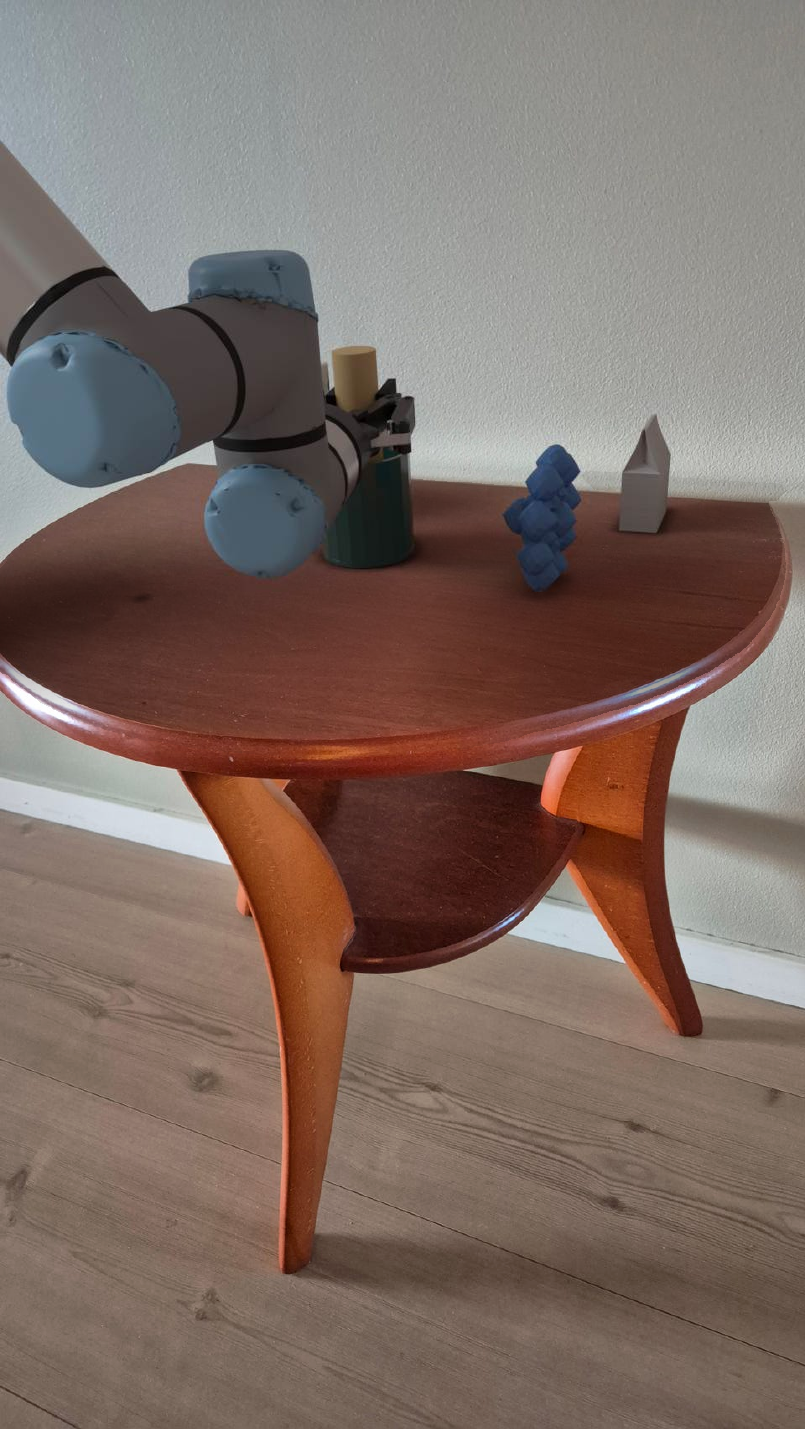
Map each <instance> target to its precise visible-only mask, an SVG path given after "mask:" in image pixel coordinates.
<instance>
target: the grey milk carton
mask: <svg viewBox="0 0 805 1429" xmlns="http://www.w3.org/2000/svg"><path fill="white" fill-rule="evenodd" d="M658 420H659V419H658V415H657V413H655V414H654V413H652V414H651V415H650V417H649V419H647V422H646V423H645V425H644V426H643V428H642V430H641V431H640V436H639V439H638V441H637V443H636V446H635V448H634V450H633V452H632V453H631V456H630V458H629V459H628V461H627V463H626V464H625V466H624V468H623V470H622V472H621V484H620V486H621V487H620V505H619V506H620V508H619V521H618V523H619V524H618V531H622V532H636V533H637V532H638V533H649V534H652V533H653V534H657V532H658V531H659V528H660V525H661V523H662V521H663V519H664V517H665V515H666V513H667V507H668V496H669V495H668V494H669V485H670V484H669V483H670V469H671V459H672V458H671V457H672V454H671V451H670V450H669V447H668V445H667V442H666V440H665V437H664V435H663V433H662V430H661V427H660V424H659V421H658Z"/></svg>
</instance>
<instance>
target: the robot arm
mask: <svg viewBox="0 0 805 1429" xmlns="http://www.w3.org/2000/svg"><path fill="white" fill-rule="evenodd" d="M187 279H188V291H189V292H188V294H187V302H186V303H185V302H184V303H181V304H178V305H174V306H171V307H170V306H169V307H166V308H161V309H158V310H153V311H151V310H150V309H148V307H147V306H146V305H145V304H144V303H143V302H142V300H140V298H139V297H138V296H137V295H136V294H135V292H134V291H133V290H132V289H131V287H129V285H127V283H126V282H124V281H123V280H122V279H121V277H120V276H119V275H118V274H117V272H116V271H115V270H114V269H113V268H112V267H111V266H110V265H109V264H108V262H107V261H106V260H105V259H104V257H102V256H101V254H100V253H99V252H98V251H97V249H96V248H95V247H94V246H93V245H92V244H91V243H90V242H89V241H88V239H87V238H86V237H85V236H84V235H83V234H82V232H81V231H80V230H79V229H78V227H77V226H76V225H75V224H74V223H73V221H71V220H70V218H69V217H68V216H67V215H66V214H65V213H64V211H63V210H62V209H61V208H60V207H59V206H58V204H56V203H55V201H54V200H53V199H52V198H51V197H50V195H49V194H48V193H47V192H46V191H45V189H44V188H43V187H42V186H41V185H40V184H39V183H38V181H37V180H36V179H35V178H34V177H33V176H32V175H31V174H30V172H29V171H28V170H27V169H26V168H25V167H24V165H23V164H22V163H21V162H20V161H19V160H18V159H17V157H15V155H14V153H12V152H11V151H10V149H9V148H8V147H7V146H6V145H5V143H3V141H2V140H1V139H0V355H1V356H2V358H4V359H5V361H6V362H7V363H8V365H9V366H10V367H11V368H10V371H9V374H8V377H7V383H6V403H7V410H8V413H9V417H10V421H11V423H13V424H14V425H16V426H17V428H18V430H19V432H20V434H21V437H22V442H21V443H22V446H23V448H24V449H25V451H26V452H27V454H28V455H29V456H30V458H31V459H32V460H33V461H34V462H35V463H36V464H37V465H38V466H39V467H40V469H42V470H43V471H44V472H46V473H47V474H49V475H51V477H53V478H55V479H56V480H59V481H60V482H62V483H64V484H66V485H67V484H68V485H70V486H74V487H77V488H85V489H96V488H102V487H105V486H109V485H112V484H115V483H119V482H123V481H126V480H130V479H132V478H135V477H139V476H143V475H146V474H151V473H153V472H155V471H157V470H158V469H159V468H160V467H162V466H165V465H166V464H167V463H168V462H170V461H171V460H172V461H173V459H176V458H178V457H180V456H182V455H184V454H186V453H188V452H190V451H192V450H194V449H196V448H198V447H201V446H202V445H204V444H207V443H210V442H212V444H213V452H214V456H215V463H216V469H217V477H218V480H217V481H215V486H214V487H213V488H212V490H211V492H210V493H209V494H210V495H209V496H208V499H207V501H206V505H205V507H204V517H203V518H204V521H203V522H204V528H205V533H206V537H207V539H208V541H209V543H210V545H211V547H212V548H213V550H214V552H216V555H217V556H218V557H219V558H220V559H221V560H222V561H223V562H224V563H225V564H227V565H228V566H229V567H231V568H232V569H233V570H235V571H236V572H239V573H241V574H243V575H245V576H249V577H252V578H257V579H263V580H269V579H277V578H281V577H284V576H287V575H289V574H291V573H294V572H295V571H297V570H298V569H299V568H300V567H302V566H303V565H304V564H305V563H306V561H308V560H309V558H310V557H311V556H312V555H314V554H315V553H317V551H319V549H320V548H321V546H322V544H323V541H324V539H325V537H326V534H327V532H328V531H329V529H330V527H331V526H332V524H333V522H334V521H335V519H336V517H337V515H338V514H339V512H340V510H341V509H342V507H343V506H344V504H345V502H346V501H347V499H348V498H349V496H350V494H351V493H352V492H353V490H354V489H355V487H356V486H357V484H358V483H359V481H360V480H361V478H362V476H363V475H364V473H365V470H366V468H367V465H368V461H369V458H371V457H373V456H376V455H377V454H378V453H379V452H380V448H381V447H387V446H388V448H389V451H396V452H397V453H398V454H403V455H405V454H408V453H410V454H411V453H412V435H413V432H414V430H415V428H416V405H415V397H414V396H412V395H404V396H402V392H397V391H398V390H397V378H396V377H393V378H391V377H389V378H387V379H386V381H384V383H383V384H382V385H381V387H380V388H378V389H379V391H378V392H377V393H376V401H375V402H374V403H372V404H371V405H369V406H367V407H366V408H364V409H363V410H360V409H353V410H351V411H349V412H348V413H347V412H346V411H344V410H342V409H341V408H339V407H336V398H335V387H334V386H333V387H332V388H331V389H330V391H329V392H328V393H327V394H326V395H324V390H323V383H322V371H321V361H322V360H321V359H322V358H321V346H320V337H319V325H318V323H319V313H317V311H316V305H315V299H314V292H313V286H312V280H311V272H310V268H309V265H308V263H307V261H306V260H305V258H304V257H303V256H301V255H300V254H299V253H297V252H295V251H292V250H287V249H286V250H285V249H256V250H255V249H254V250H240V251H229V252H222V253H214V254H208V255H204V256H201V257H198V258H197V259H194V261H192V263H191V264H190V266H189V268H188V271H187Z"/></svg>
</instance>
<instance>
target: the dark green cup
mask: <svg viewBox="0 0 805 1429" xmlns="http://www.w3.org/2000/svg"><path fill="white" fill-rule="evenodd" d="M410 454H411V453H408V454H405V455H403V454H398V453H397V452H396V451H389V448H388V446H387V447H383V460H381V461H376V462H368V465H367V468H366V470H365V473H364V475H363V476H362V478H361V480H360V481H359V483H358V484H357V486H356V487H355V489H354V490H353V492H352V493H351V494H350V496H349V498H348V499H347V501H346V502H345V504H344V506H343V507H342V509H341V510H340V512H339V514H338V515H337V517H336V519H335V521H334V522H333V524H332V526H331V527H330V529H329V531H328V532H327V534H326V537H325V539H324V541H323V544H321V546H322V552H323V558H324V559H325V560H326V561H327V562H329V563H331V564H333V565H336V566H339V567H343V568H350V569H373V568H381V567H386V566H391V565H394V564H397V563H400V562H402V561H404V560H406V559H407V558H409V557H411V555H412V554H413V553H414V551H415V530H414V527H415V526H414V511H413V510H414V509H413V508H414V507H413V490H412V473H411V470H412V469H411V455H410Z"/></svg>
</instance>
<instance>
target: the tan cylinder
mask: <svg viewBox="0 0 805 1429" xmlns="http://www.w3.org/2000/svg"><path fill="white" fill-rule="evenodd" d="M331 362H332V363H331V365H332V376H333V387H335V398H336V407H339V408H341V409H342V410H344V411H346V412H347V413H348V412H349V411H351V410H353V409H360V410H363V409H364V408H366V407H367V406H369V405H371V404H372V403H374V402H375V401H376V393H377V392H378V391H379V389H380V388H379V376H378V361H377V349H376V348H375V347H374V346H371V345H351V346H343V347H338V348H335V349H333V350H331ZM381 460H383V447H381V448H380V452H379V453H378V454H377V455H376V456H373V457H371V458H369V461H368V462H376V461H381Z"/></svg>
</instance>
